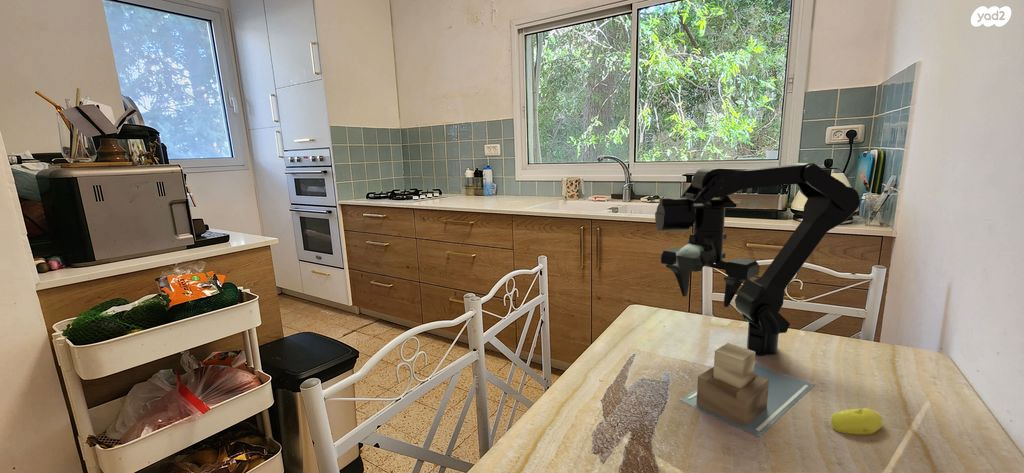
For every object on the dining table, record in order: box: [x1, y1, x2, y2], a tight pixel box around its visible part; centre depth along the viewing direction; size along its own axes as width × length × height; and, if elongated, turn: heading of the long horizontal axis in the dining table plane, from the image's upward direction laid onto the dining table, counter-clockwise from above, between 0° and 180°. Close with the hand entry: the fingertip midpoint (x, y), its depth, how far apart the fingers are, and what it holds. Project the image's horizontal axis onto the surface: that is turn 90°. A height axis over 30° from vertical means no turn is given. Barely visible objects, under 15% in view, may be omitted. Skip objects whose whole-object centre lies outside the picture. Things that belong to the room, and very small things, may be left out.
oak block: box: [713, 342, 756, 389], centre depth 71 cm, size 4×4×6 cm
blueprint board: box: [679, 363, 816, 438], centre depth 76 cm, size 23×13×1 cm, turn 127°
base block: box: [696, 366, 769, 427], centre depth 72 cm, size 8×8×5 cm
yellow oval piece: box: [830, 407, 883, 435], centre depth 66 cm, size 4×8×4 cm, turn 94°
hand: (704, 301), depth 91 cm, fingers open, 9 cm apart
